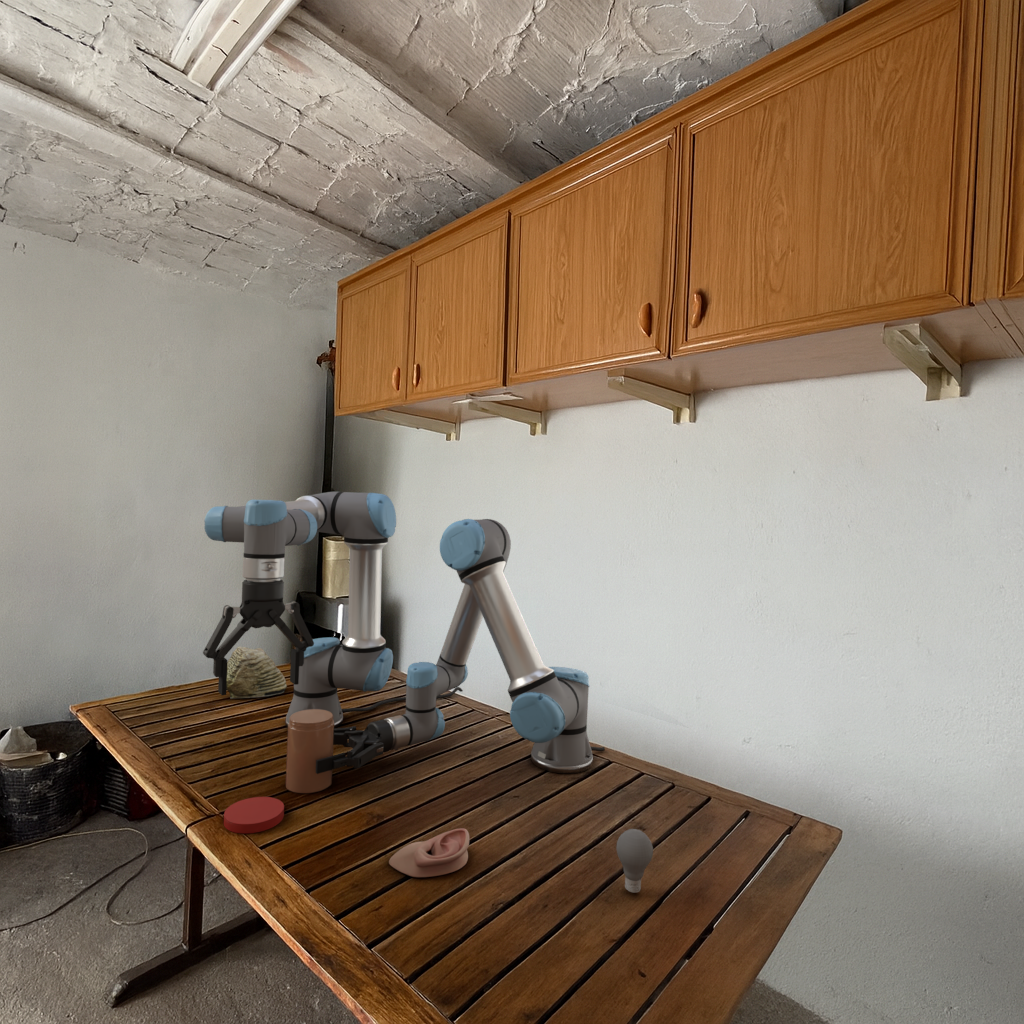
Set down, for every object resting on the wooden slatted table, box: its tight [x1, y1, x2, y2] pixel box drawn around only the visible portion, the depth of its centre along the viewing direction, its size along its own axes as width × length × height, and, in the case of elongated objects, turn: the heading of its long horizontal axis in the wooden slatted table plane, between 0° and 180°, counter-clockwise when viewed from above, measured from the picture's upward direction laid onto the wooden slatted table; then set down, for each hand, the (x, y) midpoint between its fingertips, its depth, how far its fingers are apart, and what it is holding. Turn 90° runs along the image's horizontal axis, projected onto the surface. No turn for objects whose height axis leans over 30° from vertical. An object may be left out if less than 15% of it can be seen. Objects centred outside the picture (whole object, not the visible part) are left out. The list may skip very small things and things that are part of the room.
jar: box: [285, 709, 334, 794], centre depth 140 cm, size 10×10×15 cm
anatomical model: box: [388, 827, 470, 878], centre depth 112 cm, size 13×4×12 cm
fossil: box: [226, 646, 288, 699], centre depth 198 cm, size 9×18×15 cm, turn 132°
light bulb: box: [615, 828, 654, 894], centre depth 106 cm, size 6×6×10 cm
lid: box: [223, 796, 285, 834], centre depth 124 cm, size 11×11×2 cm
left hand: (259, 688), depth 123 cm, fingers open, 13 cm apart
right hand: (302, 756), depth 138 cm, fingers open, 13 cm apart
